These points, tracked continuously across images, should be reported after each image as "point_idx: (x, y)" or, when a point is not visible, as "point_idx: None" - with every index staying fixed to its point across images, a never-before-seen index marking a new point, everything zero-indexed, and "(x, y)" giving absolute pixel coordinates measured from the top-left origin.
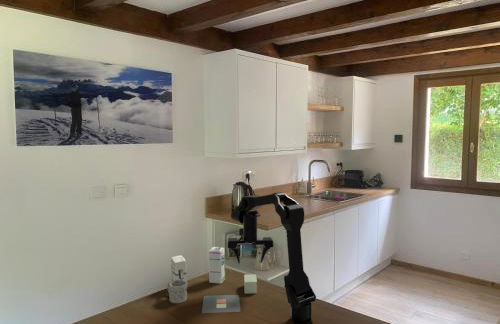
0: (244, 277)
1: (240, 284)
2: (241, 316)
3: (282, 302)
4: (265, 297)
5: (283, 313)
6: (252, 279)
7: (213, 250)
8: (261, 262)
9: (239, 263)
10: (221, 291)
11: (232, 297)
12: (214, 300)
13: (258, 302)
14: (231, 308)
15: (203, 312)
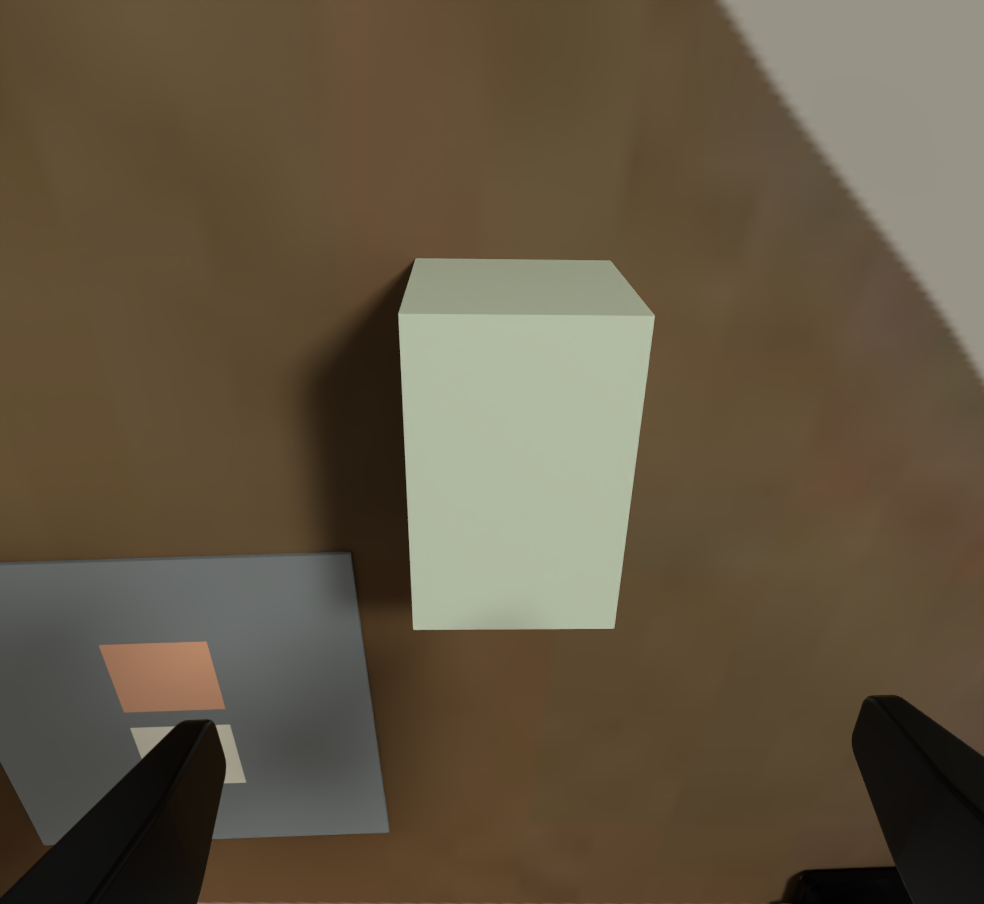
0: (406, 459)
1: (348, 206)
2: (401, 876)
3: (818, 705)
4: (670, 611)
5: (754, 848)
6: (551, 544)
7: None
8: (874, 763)
9: (224, 765)
10: (91, 447)
11: (278, 612)
12: (81, 666)
13: (572, 701)
14: (301, 792)
15: (56, 838)
